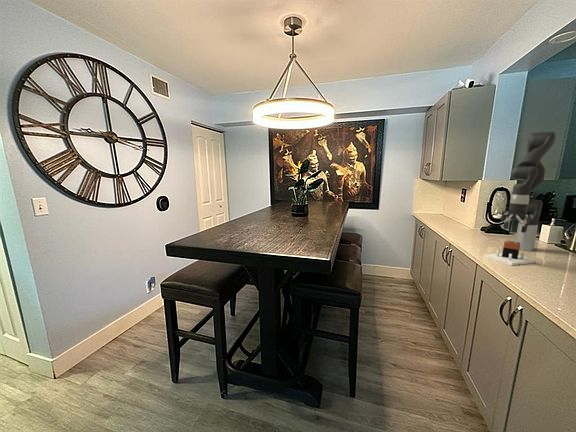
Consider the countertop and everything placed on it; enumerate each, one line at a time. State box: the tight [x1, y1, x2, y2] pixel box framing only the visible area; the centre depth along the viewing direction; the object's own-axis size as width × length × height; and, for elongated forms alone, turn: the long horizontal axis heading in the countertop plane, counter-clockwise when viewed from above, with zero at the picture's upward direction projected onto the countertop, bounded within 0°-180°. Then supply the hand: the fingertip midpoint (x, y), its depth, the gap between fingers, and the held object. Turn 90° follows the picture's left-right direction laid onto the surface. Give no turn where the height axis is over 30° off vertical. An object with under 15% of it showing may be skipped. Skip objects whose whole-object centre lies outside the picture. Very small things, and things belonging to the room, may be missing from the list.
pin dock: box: [485, 249, 536, 266], centre depth 141 cm, size 18×14×5 cm
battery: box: [501, 239, 520, 259], centre depth 140 cm, size 4×7×10 cm, turn 46°
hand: (514, 230), depth 138 cm, fingers open, 8 cm apart
